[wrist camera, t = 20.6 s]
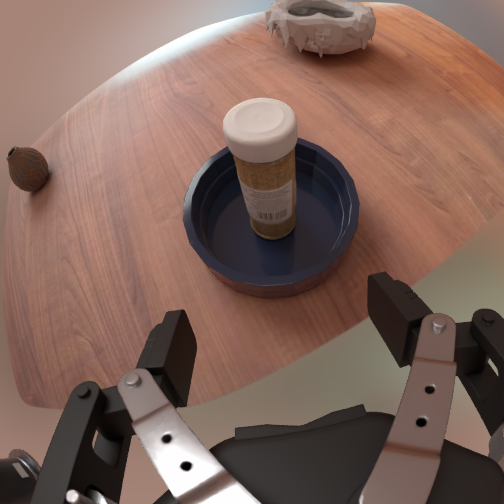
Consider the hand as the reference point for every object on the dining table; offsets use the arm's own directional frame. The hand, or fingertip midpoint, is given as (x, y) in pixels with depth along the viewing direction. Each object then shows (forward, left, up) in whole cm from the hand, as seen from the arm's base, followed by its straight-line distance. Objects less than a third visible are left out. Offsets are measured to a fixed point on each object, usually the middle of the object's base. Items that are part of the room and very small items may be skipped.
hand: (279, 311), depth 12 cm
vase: (-16, +43, -14) cm, 48 cm away
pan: (+7, +9, -13) cm, 17 cm away
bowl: (+40, +32, -14) cm, 53 cm away
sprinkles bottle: (+7, +9, -13) cm, 17 cm away
